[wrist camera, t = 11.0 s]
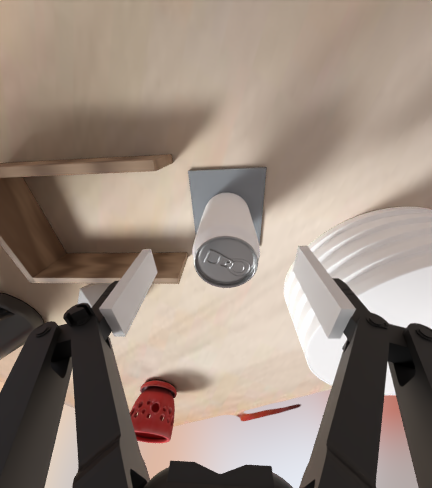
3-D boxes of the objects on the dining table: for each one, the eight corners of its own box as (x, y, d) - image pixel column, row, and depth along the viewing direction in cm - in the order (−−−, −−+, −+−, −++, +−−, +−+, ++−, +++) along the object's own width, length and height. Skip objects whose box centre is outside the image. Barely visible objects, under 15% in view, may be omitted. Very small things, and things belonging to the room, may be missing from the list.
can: (236, 239, 28) (241, 299, 18) (198, 224, 27) (179, 277, 17) (257, 202, 25) (278, 249, 14) (214, 183, 24) (204, 219, 13)
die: (120, 259, 33) (54, 291, 27) (148, 298, 31) (85, 341, 25) (120, 276, 39) (67, 305, 33) (144, 309, 38) (92, 346, 31)
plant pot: (132, 381, 58) (111, 433, 48) (163, 373, 54) (148, 429, 44) (157, 397, 63) (144, 447, 53) (187, 391, 59) (179, 444, 49)
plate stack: (519, 208, 24) (724, 258, 14) (404, 333, 38) (465, 401, 28) (305, 204, 25) (354, 246, 15) (272, 326, 40) (286, 388, 30)
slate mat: (197, 247, 30) (197, 248, 29) (188, 170, 24) (188, 171, 23) (258, 246, 29) (259, 248, 28) (265, 167, 23) (266, 167, 22)
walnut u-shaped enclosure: (64, 258, 33) (30, 282, 27) (7, 162, 24) (-59, 170, 19) (187, 257, 31) (178, 283, 25) (171, 154, 23) (152, 159, 17)
